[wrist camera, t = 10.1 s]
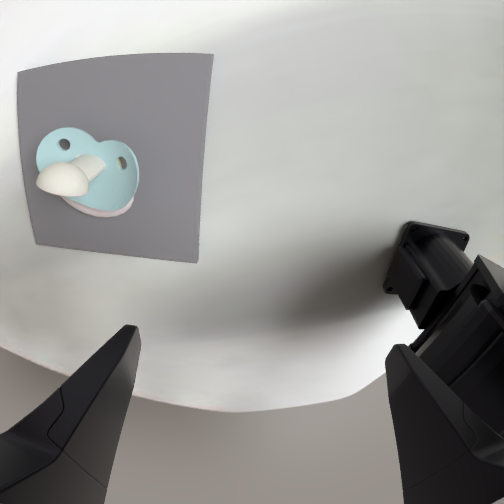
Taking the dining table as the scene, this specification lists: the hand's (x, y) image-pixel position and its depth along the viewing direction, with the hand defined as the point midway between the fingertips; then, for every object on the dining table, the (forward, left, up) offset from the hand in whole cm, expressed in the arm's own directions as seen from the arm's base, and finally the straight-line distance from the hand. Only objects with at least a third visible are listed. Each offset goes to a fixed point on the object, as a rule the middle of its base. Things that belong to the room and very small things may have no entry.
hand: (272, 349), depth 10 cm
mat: (+11, -2, -12) cm, 16 cm away
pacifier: (+11, -1, -12) cm, 16 cm away
